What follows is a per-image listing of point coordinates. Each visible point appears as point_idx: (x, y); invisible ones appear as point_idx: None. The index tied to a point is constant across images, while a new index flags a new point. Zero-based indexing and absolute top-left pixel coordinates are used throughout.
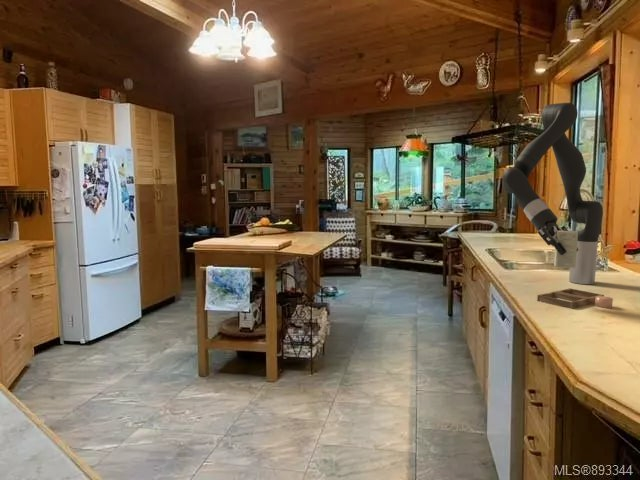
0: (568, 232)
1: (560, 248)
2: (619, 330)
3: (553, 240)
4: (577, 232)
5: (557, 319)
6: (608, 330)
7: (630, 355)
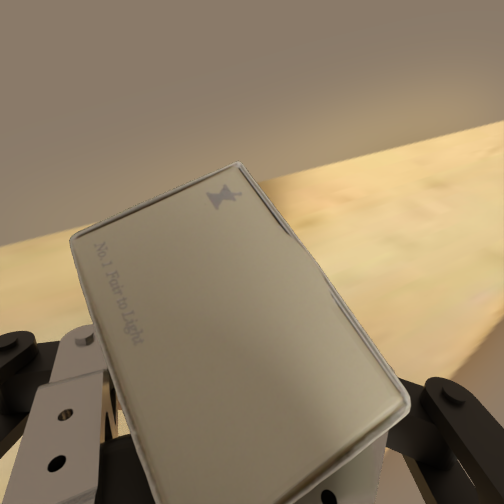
0: (307, 252)
1: None
2: (380, 172)
3: (460, 387)
4: (243, 165)
5: (430, 278)
6: (400, 183)
7: (496, 126)
